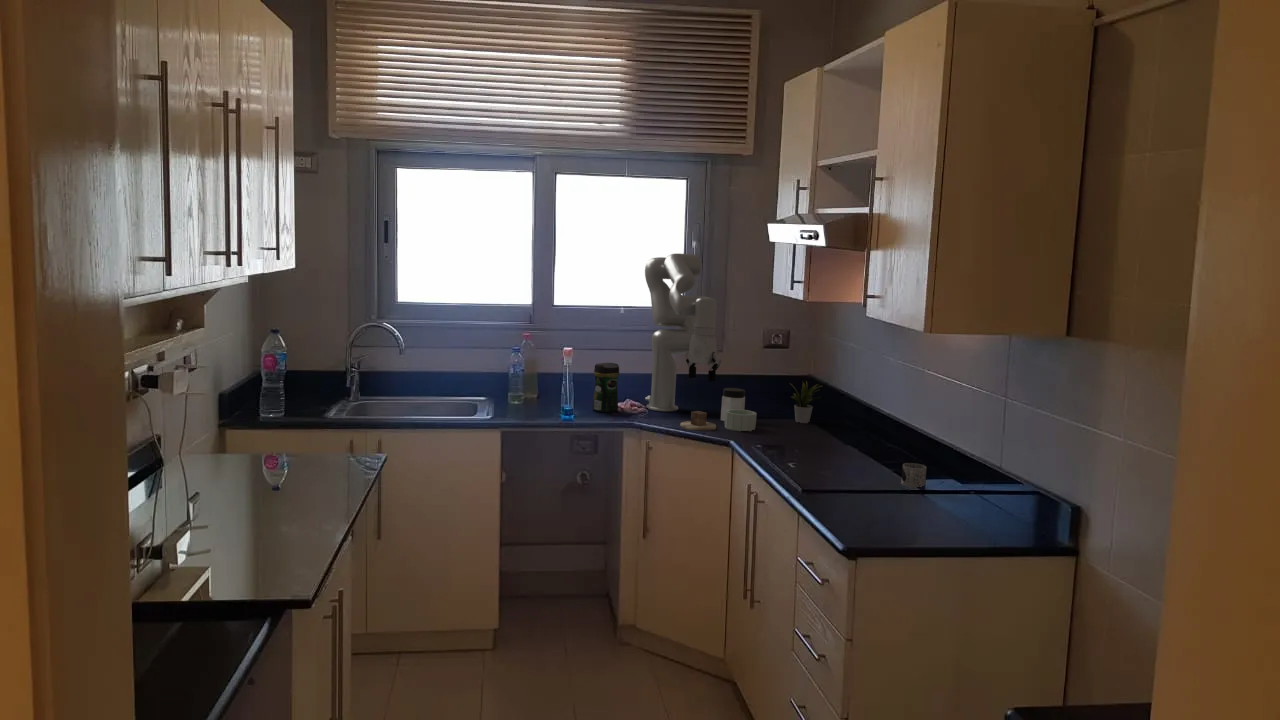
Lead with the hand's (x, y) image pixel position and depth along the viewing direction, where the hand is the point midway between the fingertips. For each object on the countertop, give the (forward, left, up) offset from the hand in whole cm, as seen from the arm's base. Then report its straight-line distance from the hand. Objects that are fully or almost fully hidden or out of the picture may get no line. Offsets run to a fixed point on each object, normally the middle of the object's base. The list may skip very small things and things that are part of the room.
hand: (701, 379), depth 354 cm
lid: (0, 0, -18) cm, 18 cm away
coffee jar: (-40, -10, -18) cm, 45 cm away
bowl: (+9, +12, -18) cm, 23 cm away
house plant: (+14, +45, -18) cm, 50 cm away
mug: (+94, -8, -18) cm, 96 cm away
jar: (-2, +21, -18) cm, 27 cm away
